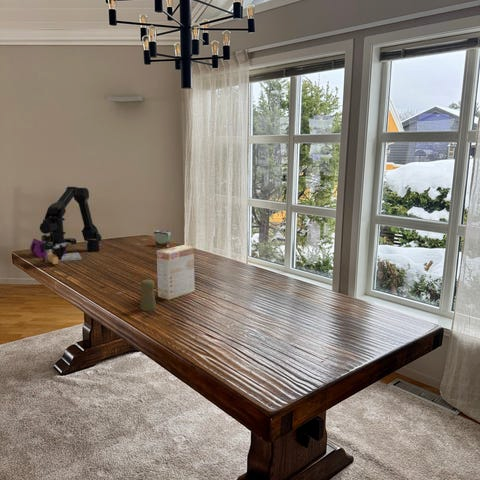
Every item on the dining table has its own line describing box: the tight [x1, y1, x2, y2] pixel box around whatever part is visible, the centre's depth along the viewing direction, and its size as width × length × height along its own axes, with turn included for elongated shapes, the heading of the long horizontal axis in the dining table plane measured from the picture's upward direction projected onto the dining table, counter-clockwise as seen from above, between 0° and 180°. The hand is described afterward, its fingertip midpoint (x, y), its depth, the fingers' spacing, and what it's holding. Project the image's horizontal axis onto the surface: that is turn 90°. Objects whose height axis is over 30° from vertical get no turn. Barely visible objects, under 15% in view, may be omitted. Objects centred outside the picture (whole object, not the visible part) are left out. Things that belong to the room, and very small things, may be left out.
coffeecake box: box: [156, 244, 196, 301], centre depth 181 cm, size 15×7×20 cm, turn 141°
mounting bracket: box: [29, 238, 67, 258], centre depth 251 cm, size 9×8×18 cm
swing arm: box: [46, 249, 59, 265], centre depth 231 cm, size 17×3×5 cm, turn 35°
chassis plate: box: [44, 252, 82, 263], centre depth 243 cm, size 18×14×1 cm
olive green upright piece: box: [139, 279, 157, 312], centre depth 165 cm, size 6×6×11 cm
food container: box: [153, 229, 172, 249], centre depth 275 cm, size 12×6×10 cm, turn 58°
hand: (59, 259), depth 228 cm, fingers closed
